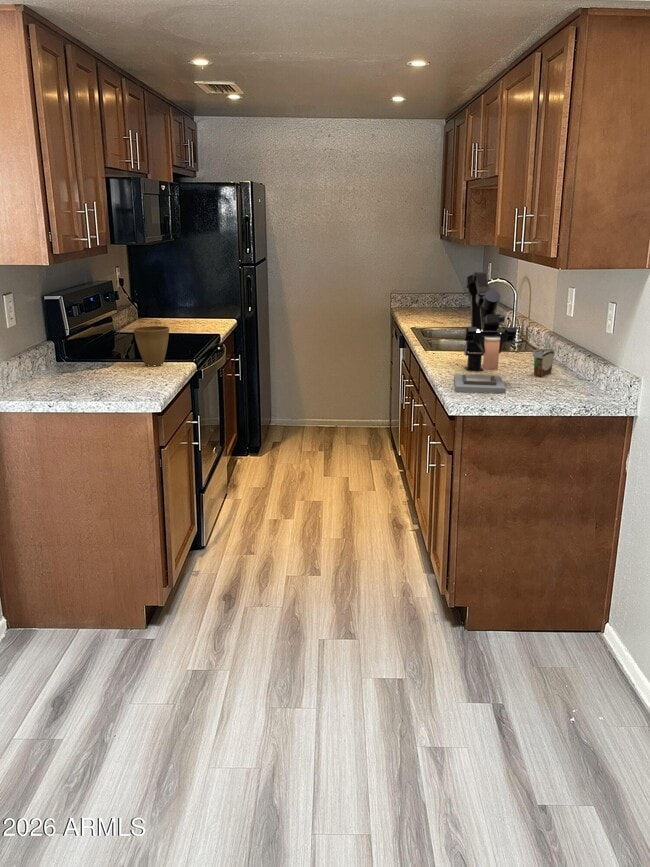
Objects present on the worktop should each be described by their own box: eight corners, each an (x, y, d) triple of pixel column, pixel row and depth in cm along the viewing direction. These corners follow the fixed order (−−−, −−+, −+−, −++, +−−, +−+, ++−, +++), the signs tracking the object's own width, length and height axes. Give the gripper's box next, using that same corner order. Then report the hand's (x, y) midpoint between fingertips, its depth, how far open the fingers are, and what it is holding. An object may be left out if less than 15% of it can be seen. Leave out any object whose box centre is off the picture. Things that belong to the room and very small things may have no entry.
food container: (538, 371, 312) (540, 347, 309) (552, 373, 308) (554, 349, 305) (525, 375, 303) (527, 351, 300) (540, 378, 299) (542, 353, 296)
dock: (453, 378, 297) (454, 370, 296) (499, 379, 295) (500, 372, 294) (455, 391, 275) (455, 383, 274) (505, 393, 272) (506, 385, 271)
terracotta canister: (484, 367, 285) (486, 335, 281) (499, 368, 282) (502, 336, 279) (480, 369, 280) (482, 337, 276) (496, 371, 277) (498, 339, 274)
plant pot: (168, 361, 330) (166, 325, 326) (173, 367, 317) (171, 329, 312) (134, 362, 326) (131, 326, 321) (137, 369, 312) (134, 331, 308)
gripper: (467, 305, 278) (470, 339, 271) (517, 305, 278) (521, 340, 271) (462, 323, 288) (465, 356, 281) (511, 323, 288) (515, 357, 281)
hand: (492, 352), depth 278 cm, fingers closed on terracotta canister, 6 cm apart
